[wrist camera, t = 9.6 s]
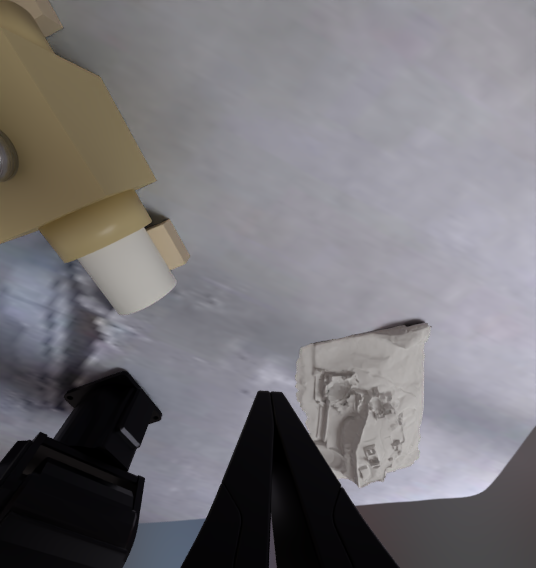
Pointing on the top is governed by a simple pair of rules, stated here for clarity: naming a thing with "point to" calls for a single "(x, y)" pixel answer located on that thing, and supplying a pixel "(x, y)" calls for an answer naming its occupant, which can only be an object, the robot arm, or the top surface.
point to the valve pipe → (77, 167)
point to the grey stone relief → (365, 400)
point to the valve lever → (7, 158)
